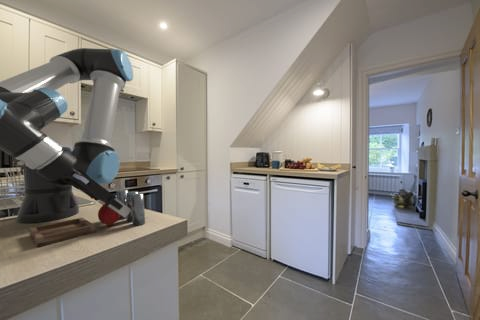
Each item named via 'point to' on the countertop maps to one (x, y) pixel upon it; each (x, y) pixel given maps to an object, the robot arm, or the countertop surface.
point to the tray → (61, 231)
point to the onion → (108, 215)
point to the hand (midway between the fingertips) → (123, 211)
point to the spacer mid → (128, 195)
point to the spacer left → (122, 198)
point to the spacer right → (137, 209)
